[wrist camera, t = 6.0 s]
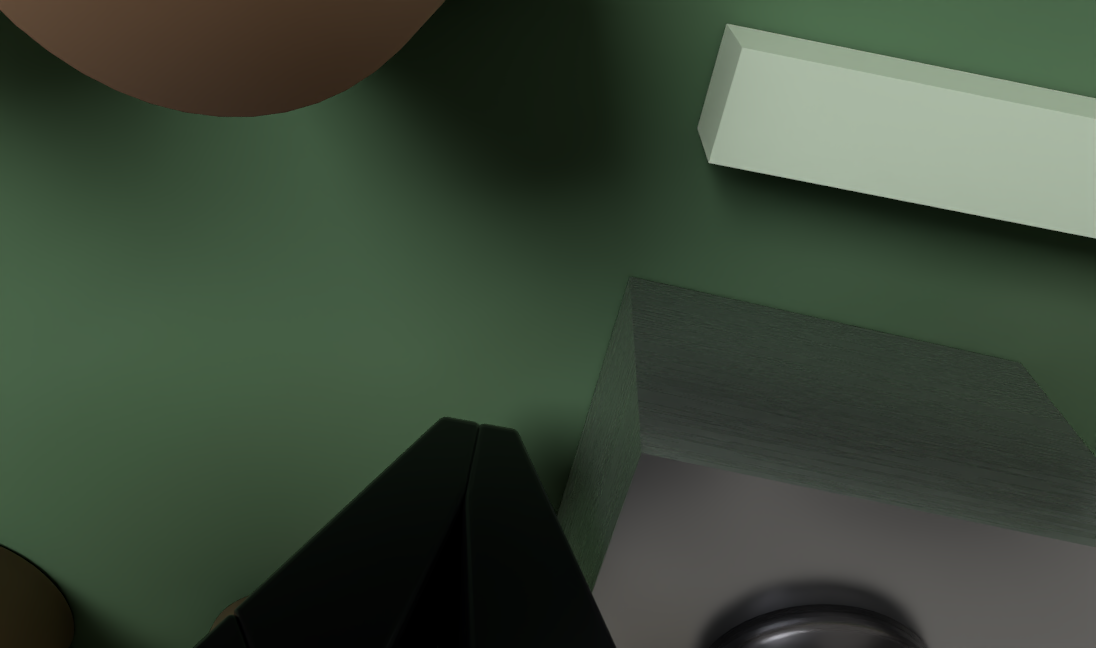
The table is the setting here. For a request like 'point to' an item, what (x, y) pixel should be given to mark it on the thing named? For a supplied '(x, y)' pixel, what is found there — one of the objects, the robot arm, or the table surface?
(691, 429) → the grey knob block
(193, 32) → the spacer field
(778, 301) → the table surface
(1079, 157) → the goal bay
